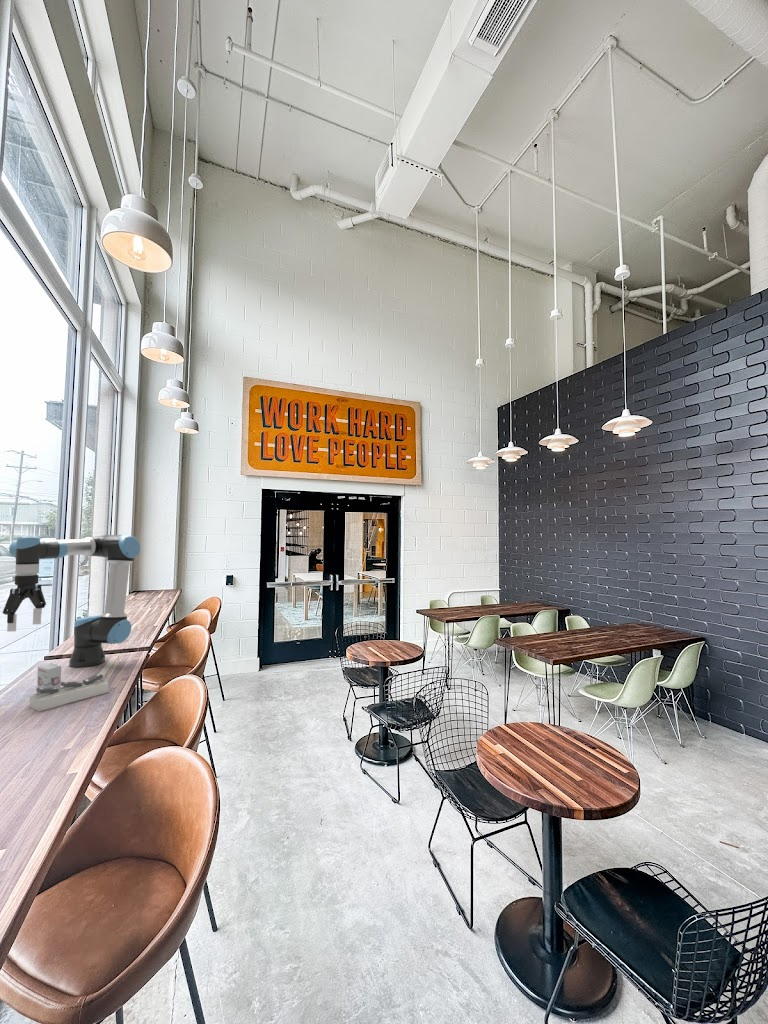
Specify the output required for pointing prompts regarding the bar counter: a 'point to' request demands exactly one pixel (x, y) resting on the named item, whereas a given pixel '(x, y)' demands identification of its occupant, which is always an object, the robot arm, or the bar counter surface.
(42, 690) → the rocker
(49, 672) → the ink box
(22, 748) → the bar counter surface
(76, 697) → the rocker switch panel
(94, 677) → the rocker
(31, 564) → the robot arm
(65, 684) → the rocker
